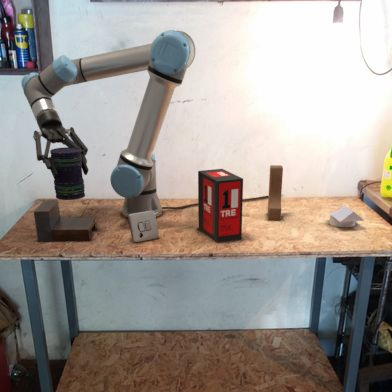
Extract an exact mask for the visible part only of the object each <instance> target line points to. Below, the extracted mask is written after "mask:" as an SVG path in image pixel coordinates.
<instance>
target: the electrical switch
mask: <svg viewBox="0 0 392 392" xmlns="http://www.w3.org/2000/svg"><path fill="white" fill-rule="evenodd" d="M127 220H128V225H129V231H130V236H131V240H132V241H133V243H139V242H144V241H150V240H156V239H158V238H159V237H160V235H159V234H160V233H159V227H158V222H157V217H156V216H155V211H152V210H151V211H146V212H140V213H134V214H130V215H129V217H128V218H127Z"/></svg>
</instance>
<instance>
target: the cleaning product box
mask: <svg viewBox="0 0 392 392" xmlns="http://www.w3.org/2000/svg"><path fill="white" fill-rule="evenodd" d="M243 192H244V178H243V177H241V176H238V175H236V174H234V173H232V172H230V171H228V170H226V169H223V168H214V169H205V170H198V171H197V201H198V202H197V203H198V205H197V206H198V207H197V208H198V210H197V211H198V215H197V216H198V230H199V231H201V232H202V233H204V234H205V235H206V236H208V237H209V238H210V239H212V240H213V241H214V242H216V243H217V244H218V243H223V242H224V243H225V242H231V241H238V240H242V237H243V236H242V235H243V233H242V231H243V202H244V201H243V199H244V198H243V197H244V196H243V195H244V193H243Z"/></svg>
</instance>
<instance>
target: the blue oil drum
mask: <svg viewBox="0 0 392 392" xmlns="http://www.w3.org/2000/svg"><path fill="white" fill-rule="evenodd" d="M80 152H81V151H80V149H79V148H72V147H67V146H66V147H65V146H64V147H56V148H52V149H49V153H50V157H51V158H52V161H53V163H54V165H55V168H56V170H57V172H58V176H57V179H54V178H53V185H54V192H55V198H56V200H60V201H75V200H81V199H83V198H85V197H86V193H85V180H84V178H83V170H82V158H81V154H80Z"/></svg>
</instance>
